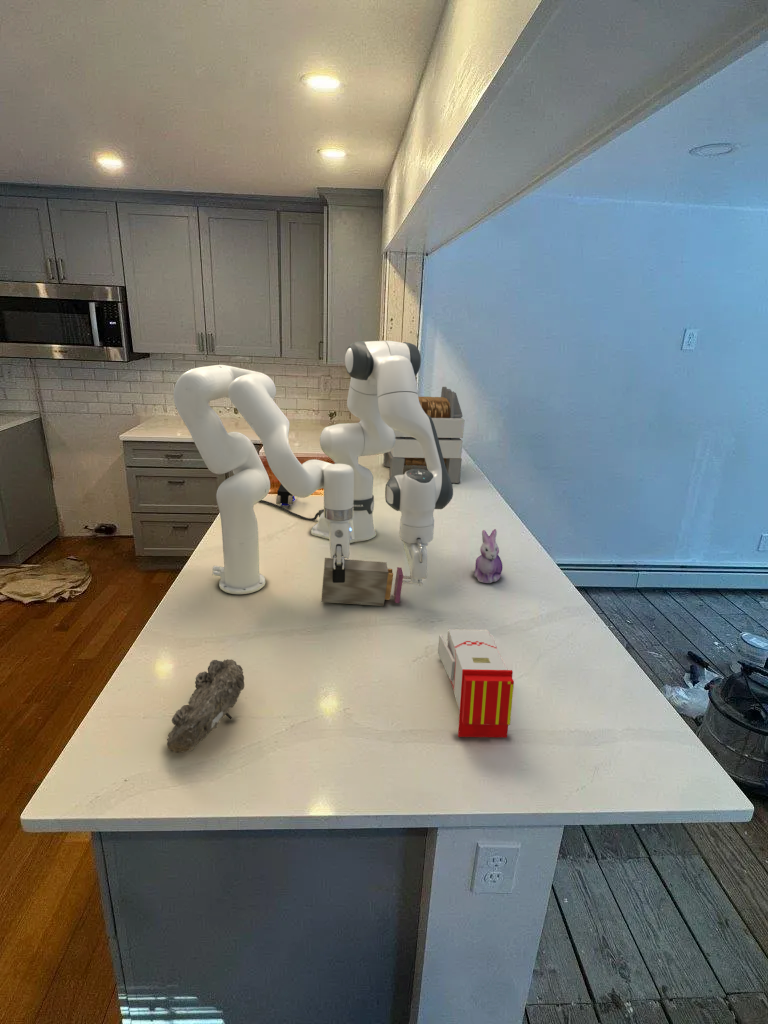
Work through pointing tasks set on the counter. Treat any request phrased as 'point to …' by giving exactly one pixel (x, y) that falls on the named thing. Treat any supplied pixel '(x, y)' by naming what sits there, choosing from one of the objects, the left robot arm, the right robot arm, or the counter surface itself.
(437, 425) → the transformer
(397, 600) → the drawer
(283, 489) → the figurine character
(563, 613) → the counter surface
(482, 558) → the figurine
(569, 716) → the counter surface
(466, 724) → the toy
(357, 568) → the cabinet
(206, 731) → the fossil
